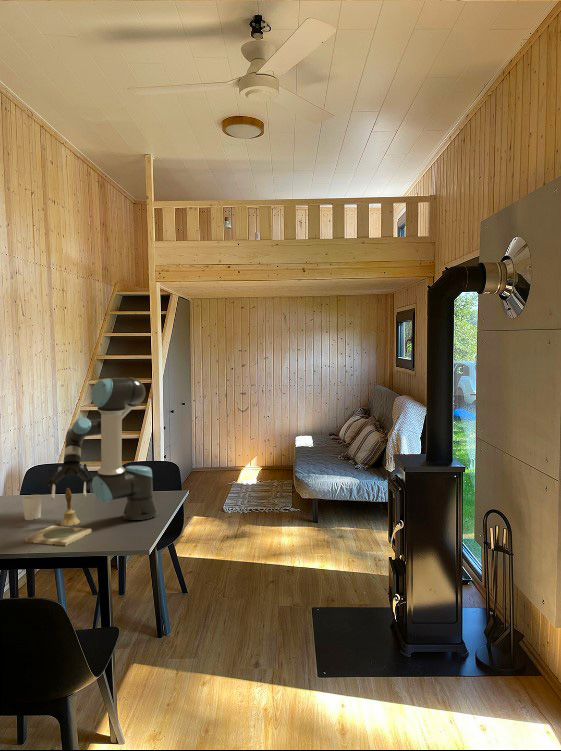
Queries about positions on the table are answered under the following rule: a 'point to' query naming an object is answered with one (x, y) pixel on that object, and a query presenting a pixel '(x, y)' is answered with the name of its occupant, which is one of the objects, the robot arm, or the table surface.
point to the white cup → (32, 507)
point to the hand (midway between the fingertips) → (68, 497)
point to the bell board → (58, 535)
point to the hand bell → (69, 512)
